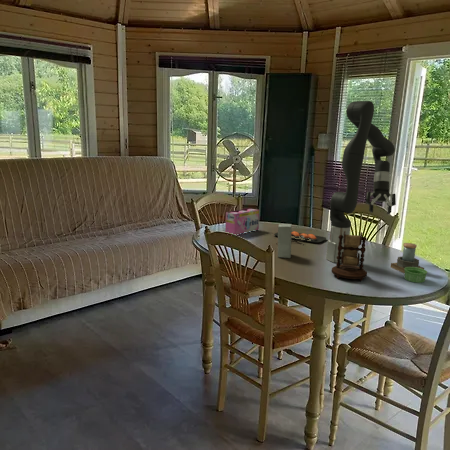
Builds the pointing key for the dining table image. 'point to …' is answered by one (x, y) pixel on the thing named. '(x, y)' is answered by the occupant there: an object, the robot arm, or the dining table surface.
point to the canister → (409, 252)
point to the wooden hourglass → (350, 257)
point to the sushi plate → (305, 237)
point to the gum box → (242, 221)
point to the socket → (405, 264)
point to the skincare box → (284, 240)
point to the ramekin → (415, 274)
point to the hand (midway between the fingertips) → (380, 213)
